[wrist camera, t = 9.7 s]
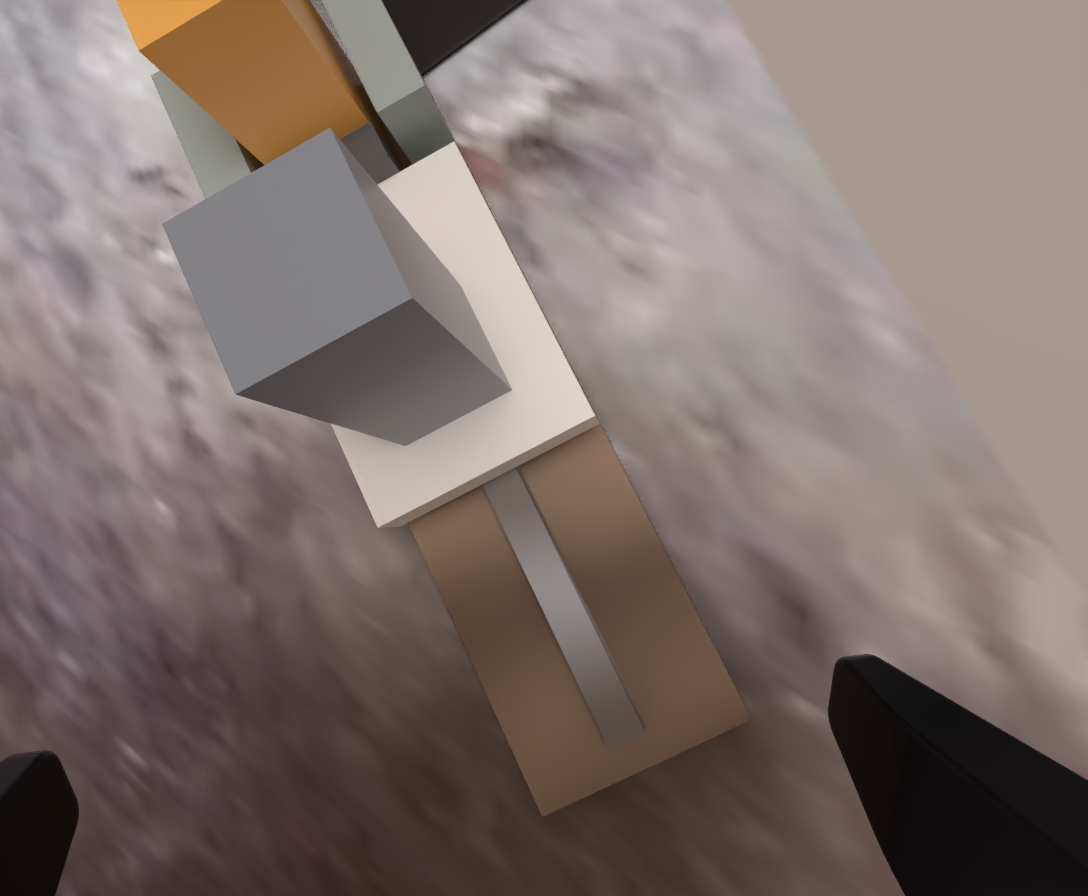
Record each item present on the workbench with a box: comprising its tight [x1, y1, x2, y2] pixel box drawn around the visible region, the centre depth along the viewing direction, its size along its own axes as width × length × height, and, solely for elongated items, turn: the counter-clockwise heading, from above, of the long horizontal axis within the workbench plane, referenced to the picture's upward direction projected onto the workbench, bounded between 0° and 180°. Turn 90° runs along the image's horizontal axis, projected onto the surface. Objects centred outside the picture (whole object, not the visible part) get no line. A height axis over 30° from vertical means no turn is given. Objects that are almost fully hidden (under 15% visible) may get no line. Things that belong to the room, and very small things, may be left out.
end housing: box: [151, 0, 466, 199], centre depth 20 cm, size 4×6×4 cm, turn 116°
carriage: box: [163, 122, 600, 528], centre depth 16 cm, size 9×6×9 cm, turn 26°
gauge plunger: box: [117, 0, 403, 166], centre depth 17 cm, size 4×3×9 cm
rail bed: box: [362, 62, 752, 817], centre depth 21 cm, size 21×6×2 cm, turn 26°
